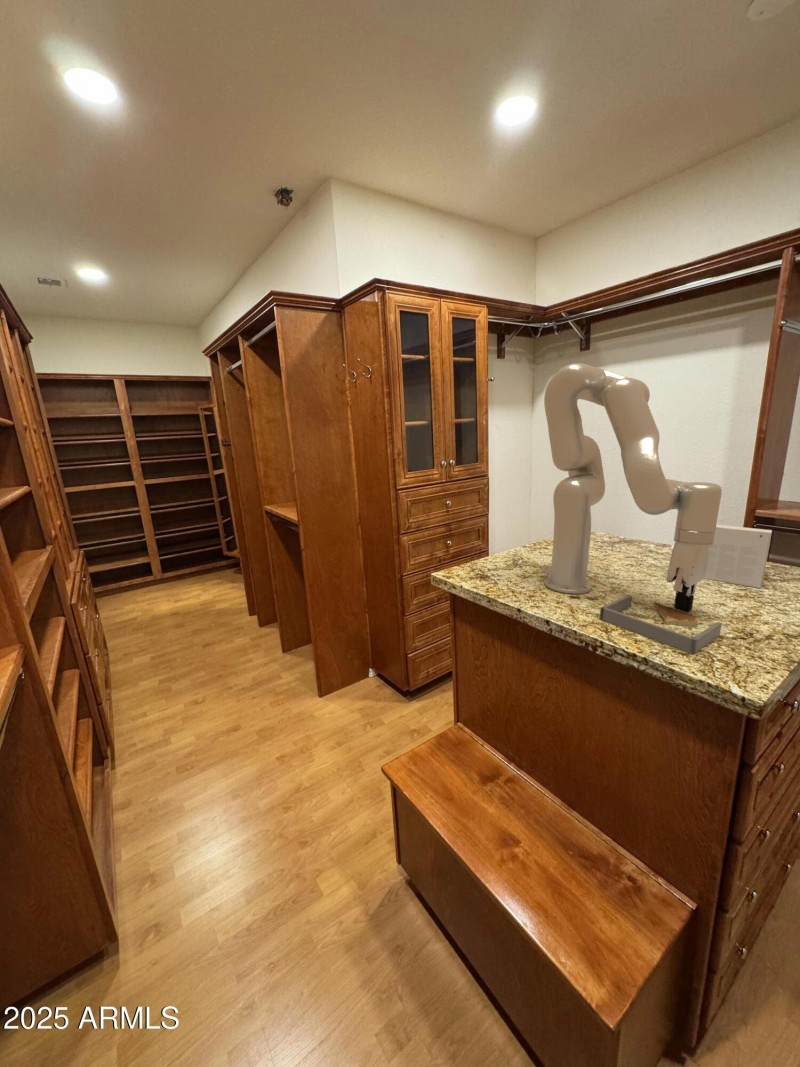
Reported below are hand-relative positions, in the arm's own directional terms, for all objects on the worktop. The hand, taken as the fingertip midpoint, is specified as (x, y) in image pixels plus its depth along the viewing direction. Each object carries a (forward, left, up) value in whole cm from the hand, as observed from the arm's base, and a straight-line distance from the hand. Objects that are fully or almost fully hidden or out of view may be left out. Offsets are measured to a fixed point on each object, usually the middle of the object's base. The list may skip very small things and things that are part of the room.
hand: (682, 609), depth 99 cm
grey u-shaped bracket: (0, -12, -1) cm, 12 cm away
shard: (-1, -5, -2) cm, 5 cm away
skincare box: (-5, +34, -1) cm, 34 cm away
